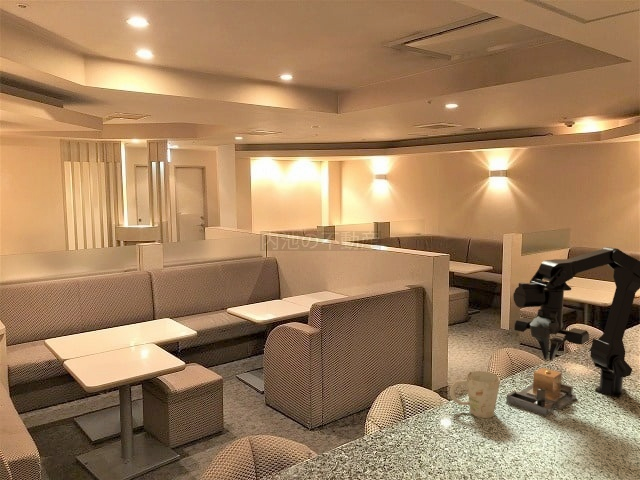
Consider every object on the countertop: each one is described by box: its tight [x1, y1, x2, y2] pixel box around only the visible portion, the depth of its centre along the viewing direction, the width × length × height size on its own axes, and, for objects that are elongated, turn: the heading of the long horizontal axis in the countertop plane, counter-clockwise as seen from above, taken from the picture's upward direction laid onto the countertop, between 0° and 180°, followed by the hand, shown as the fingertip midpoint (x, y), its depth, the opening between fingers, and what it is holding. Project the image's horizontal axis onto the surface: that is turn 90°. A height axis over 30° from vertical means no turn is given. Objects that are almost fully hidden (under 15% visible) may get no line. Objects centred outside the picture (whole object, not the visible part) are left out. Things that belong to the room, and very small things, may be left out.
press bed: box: [518, 382, 577, 411], centre depth 142 cm, size 11×12×3 cm
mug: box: [449, 370, 501, 419], centre depth 132 cm, size 8×13×10 cm, turn 78°
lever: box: [534, 388, 547, 407], centre depth 133 cm, size 2×3×5 cm
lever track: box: [505, 390, 554, 417], centre depth 136 cm, size 4×11×2 cm, turn 43°
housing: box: [532, 367, 563, 399], centre depth 142 cm, size 6×6×6 cm
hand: (548, 359), depth 141 cm, fingers closed
